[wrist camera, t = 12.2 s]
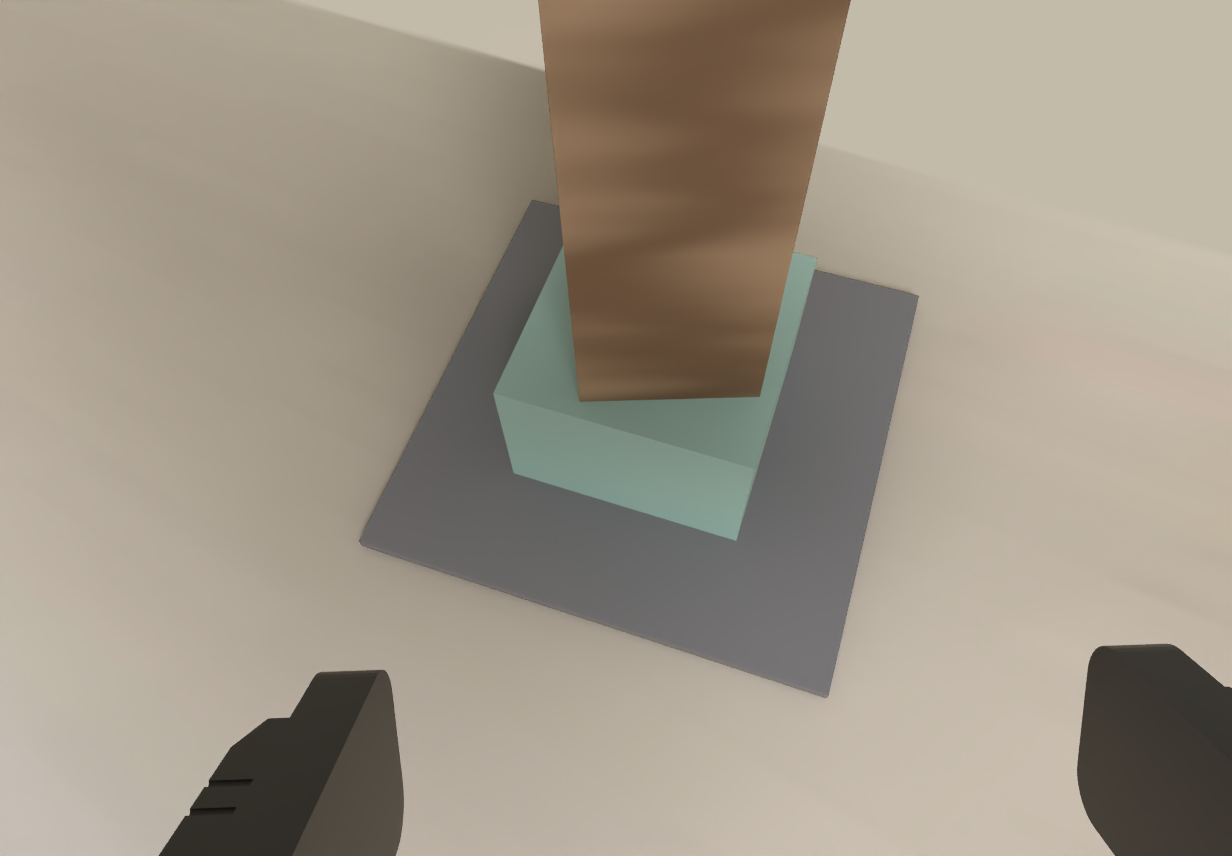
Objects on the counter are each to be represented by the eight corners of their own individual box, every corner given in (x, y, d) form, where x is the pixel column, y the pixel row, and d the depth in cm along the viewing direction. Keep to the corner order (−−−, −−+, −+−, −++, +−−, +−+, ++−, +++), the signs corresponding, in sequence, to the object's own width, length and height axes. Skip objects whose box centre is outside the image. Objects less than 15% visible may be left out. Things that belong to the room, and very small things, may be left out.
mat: (362, 545, 23) (358, 541, 23) (533, 206, 29) (532, 199, 29) (826, 698, 21) (828, 695, 21) (915, 301, 27) (918, 295, 27)
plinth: (513, 473, 24) (493, 393, 21) (590, 297, 27) (583, 201, 23) (736, 540, 23) (754, 469, 20) (792, 351, 26) (817, 258, 22)
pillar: (579, 401, 20) (538, -1, 12) (578, 260, 22) (543, -176, 14) (759, 396, 20) (853, -11, 12) (743, 255, 22) (813, -185, 14)
